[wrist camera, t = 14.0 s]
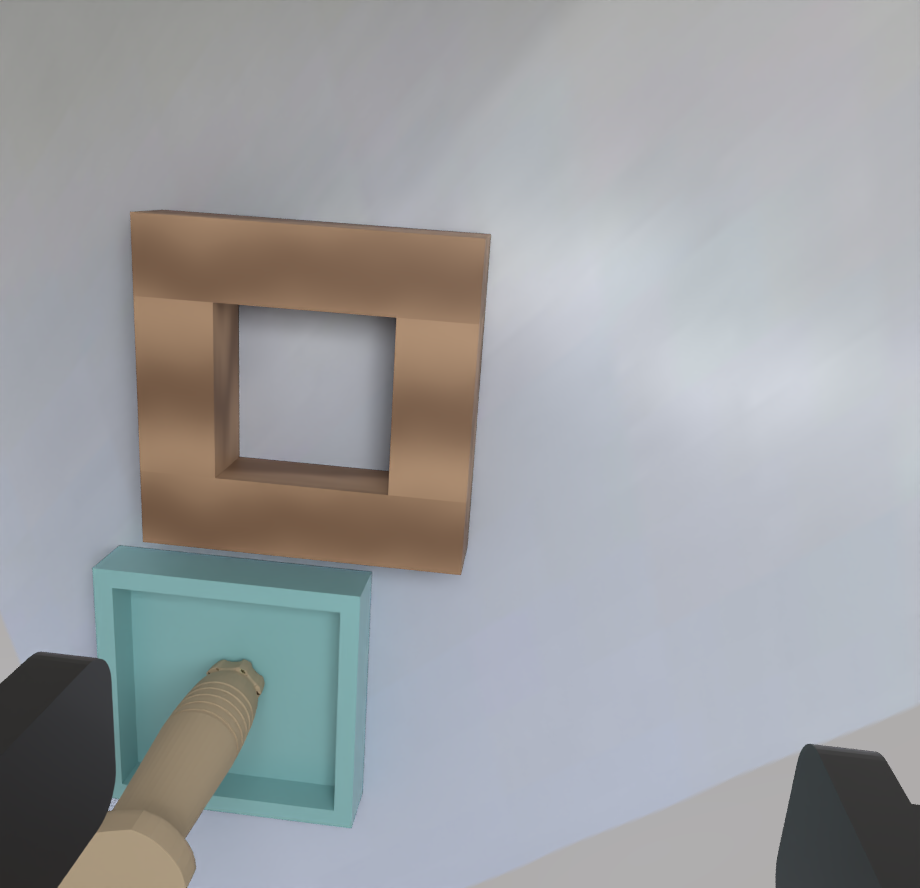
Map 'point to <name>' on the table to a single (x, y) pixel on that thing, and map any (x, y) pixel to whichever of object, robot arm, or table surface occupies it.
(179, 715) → the handle
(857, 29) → the table surface
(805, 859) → the robot arm
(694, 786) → the table surface
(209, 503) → the socket block
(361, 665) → the tray
